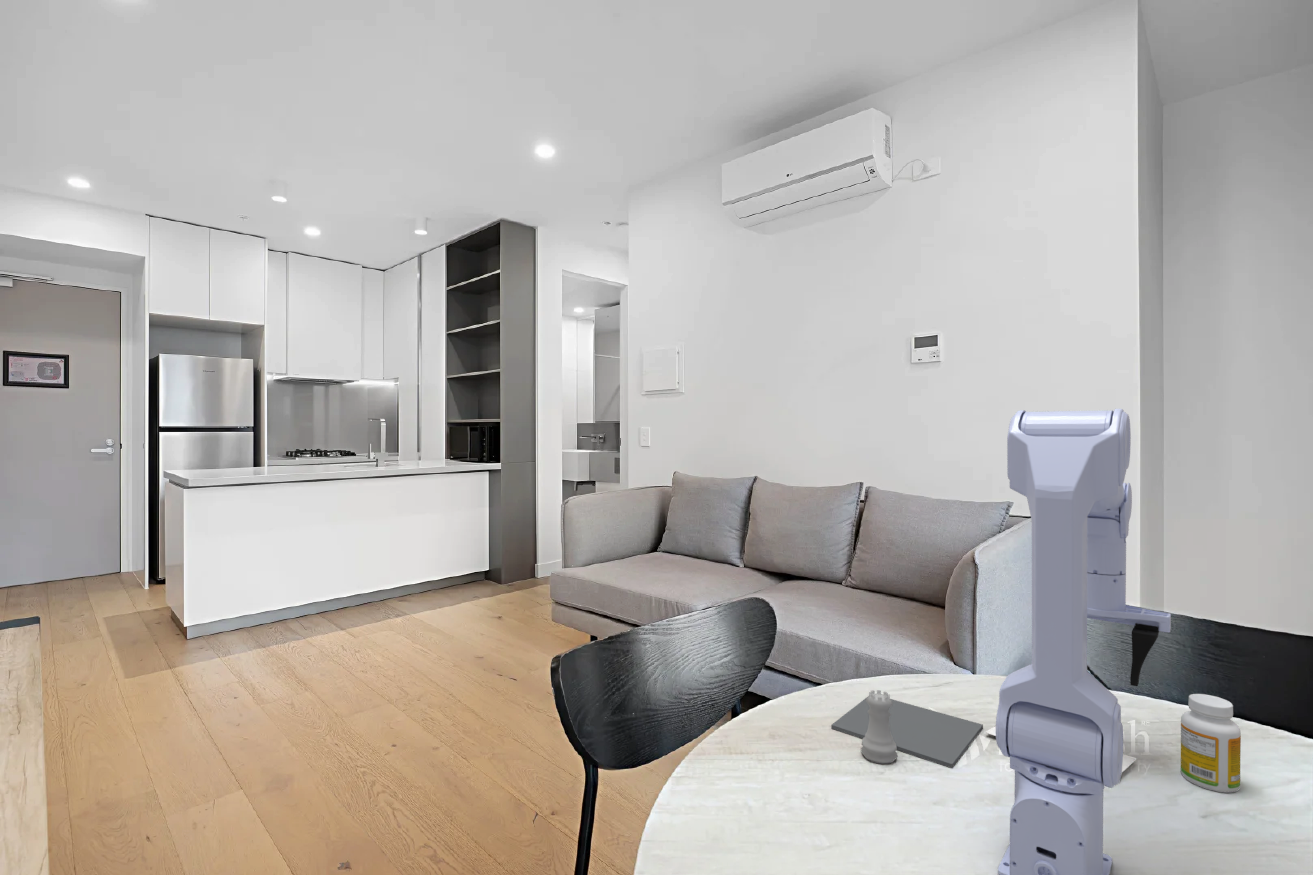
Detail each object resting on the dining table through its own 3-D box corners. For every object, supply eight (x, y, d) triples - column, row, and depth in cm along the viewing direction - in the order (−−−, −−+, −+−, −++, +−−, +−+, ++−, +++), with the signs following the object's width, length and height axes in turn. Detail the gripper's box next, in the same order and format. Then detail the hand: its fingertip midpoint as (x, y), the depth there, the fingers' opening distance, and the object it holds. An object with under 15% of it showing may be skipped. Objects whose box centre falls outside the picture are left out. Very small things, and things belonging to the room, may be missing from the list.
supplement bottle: (1223, 772, 78) (1224, 693, 78) (1251, 797, 73) (1252, 712, 73) (1171, 766, 79) (1172, 688, 79) (1194, 790, 74) (1195, 706, 74)
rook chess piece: (857, 759, 81) (858, 697, 81) (864, 744, 85) (864, 684, 85) (895, 768, 79) (895, 704, 79) (899, 752, 83) (900, 690, 83)
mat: (952, 768, 79) (952, 764, 79) (831, 728, 90) (831, 724, 90) (982, 728, 90) (983, 724, 90) (871, 696, 100) (871, 693, 100)
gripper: (1172, 573, 81) (1171, 680, 81) (1040, 558, 90) (1039, 654, 90) (1169, 583, 75) (1168, 698, 75) (1029, 566, 85) (1028, 668, 85)
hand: (1097, 675), depth 82 cm, fingers open, 7 cm apart
